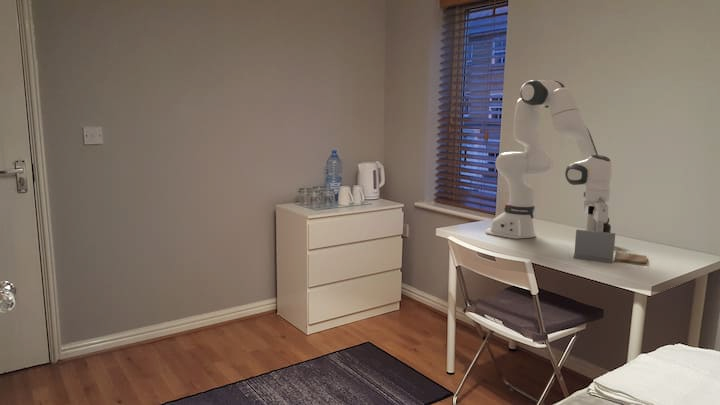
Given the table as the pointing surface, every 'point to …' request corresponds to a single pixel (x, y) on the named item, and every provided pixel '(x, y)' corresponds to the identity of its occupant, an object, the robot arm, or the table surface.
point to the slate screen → (594, 246)
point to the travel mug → (591, 220)
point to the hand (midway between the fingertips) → (594, 229)
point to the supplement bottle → (607, 227)
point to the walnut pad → (630, 258)
